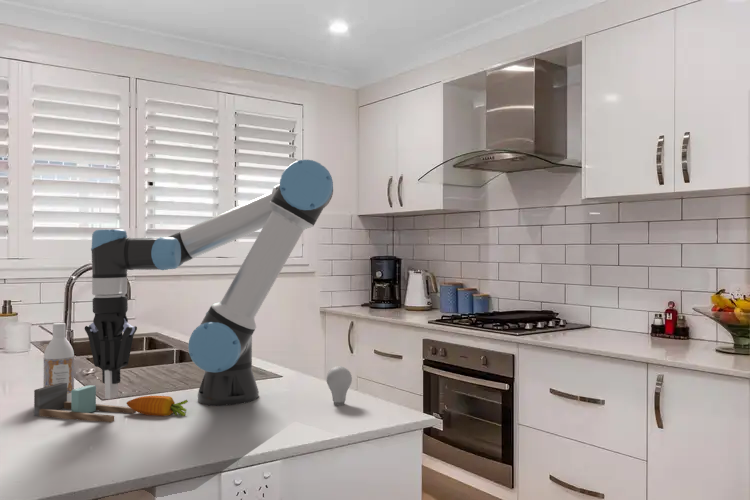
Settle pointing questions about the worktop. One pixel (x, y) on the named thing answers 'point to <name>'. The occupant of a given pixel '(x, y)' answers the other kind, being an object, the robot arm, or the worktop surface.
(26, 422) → the worktop surface
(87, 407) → the cap
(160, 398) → the carrot
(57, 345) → the bath foam
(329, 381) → the lightbulb
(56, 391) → the track
